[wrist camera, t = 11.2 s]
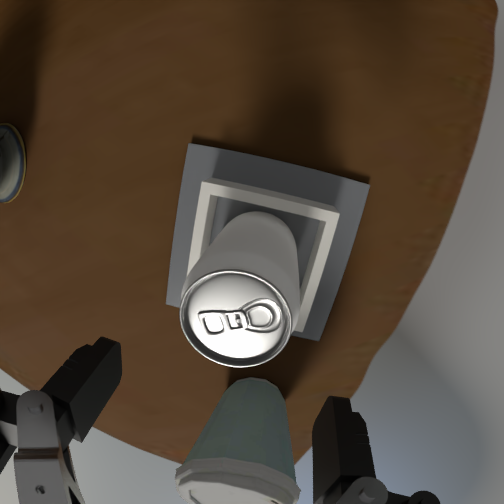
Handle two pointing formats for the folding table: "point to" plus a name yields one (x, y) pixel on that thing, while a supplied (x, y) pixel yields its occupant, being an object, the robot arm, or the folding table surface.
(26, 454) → the robot arm
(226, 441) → the disposable coffee cup
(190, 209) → the board
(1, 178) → the apothecary jar
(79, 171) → the folding table surface
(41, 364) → the folding table surface
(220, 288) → the can
